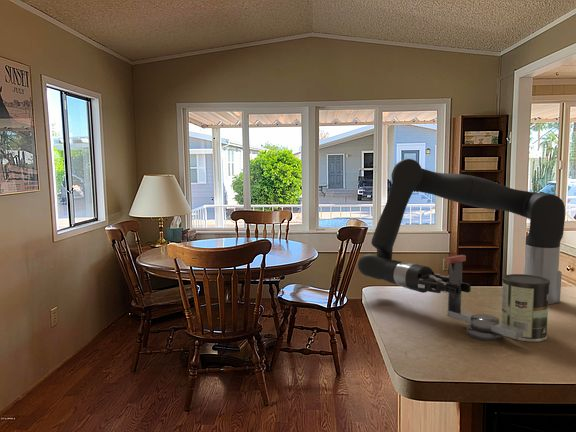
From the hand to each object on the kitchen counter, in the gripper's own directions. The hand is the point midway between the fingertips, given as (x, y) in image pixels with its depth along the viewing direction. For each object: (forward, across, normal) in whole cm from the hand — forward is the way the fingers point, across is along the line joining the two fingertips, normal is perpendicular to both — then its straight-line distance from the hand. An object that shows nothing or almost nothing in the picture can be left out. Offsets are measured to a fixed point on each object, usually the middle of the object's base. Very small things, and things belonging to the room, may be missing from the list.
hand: (464, 289), depth 114 cm
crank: (+5, 0, +8) cm, 10 cm away
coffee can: (+11, +8, +10) cm, 17 cm away
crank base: (+6, 0, +10) cm, 12 cm away
